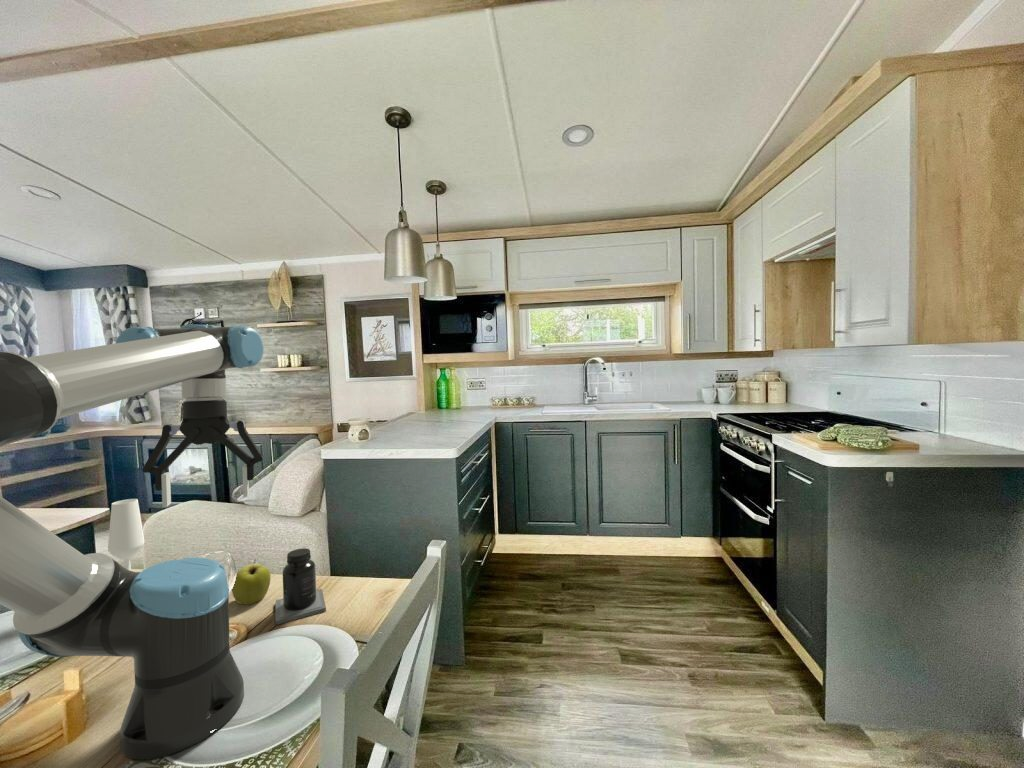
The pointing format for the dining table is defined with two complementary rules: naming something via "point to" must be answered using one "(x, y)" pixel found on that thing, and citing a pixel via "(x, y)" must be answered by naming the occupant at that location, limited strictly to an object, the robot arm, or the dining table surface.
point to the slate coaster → (289, 615)
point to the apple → (251, 584)
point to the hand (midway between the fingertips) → (207, 500)
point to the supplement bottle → (299, 580)
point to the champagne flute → (125, 530)
